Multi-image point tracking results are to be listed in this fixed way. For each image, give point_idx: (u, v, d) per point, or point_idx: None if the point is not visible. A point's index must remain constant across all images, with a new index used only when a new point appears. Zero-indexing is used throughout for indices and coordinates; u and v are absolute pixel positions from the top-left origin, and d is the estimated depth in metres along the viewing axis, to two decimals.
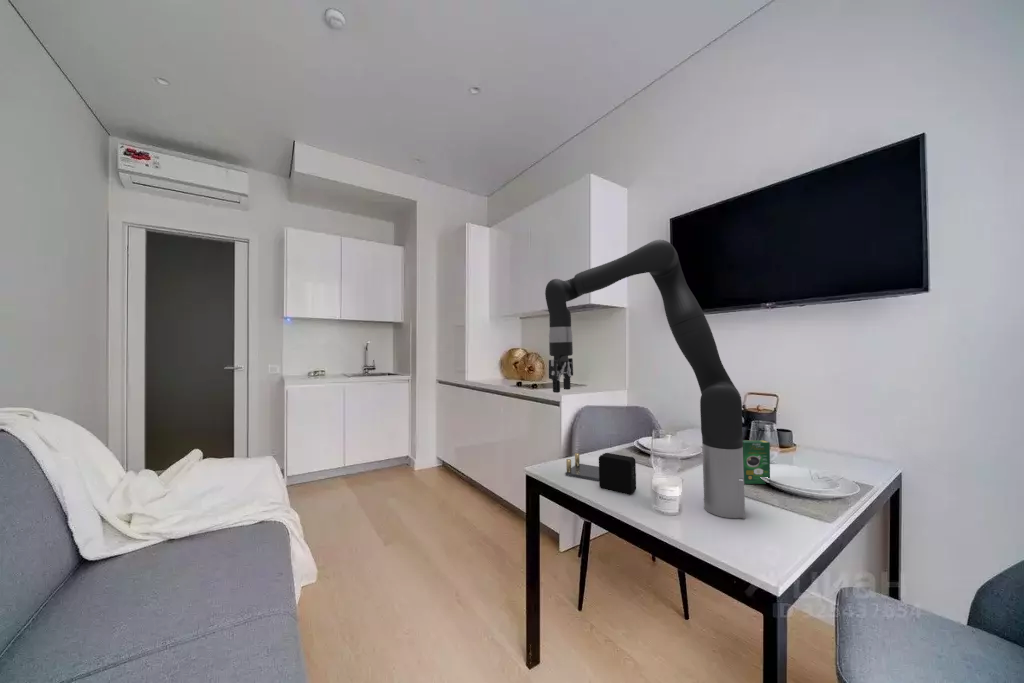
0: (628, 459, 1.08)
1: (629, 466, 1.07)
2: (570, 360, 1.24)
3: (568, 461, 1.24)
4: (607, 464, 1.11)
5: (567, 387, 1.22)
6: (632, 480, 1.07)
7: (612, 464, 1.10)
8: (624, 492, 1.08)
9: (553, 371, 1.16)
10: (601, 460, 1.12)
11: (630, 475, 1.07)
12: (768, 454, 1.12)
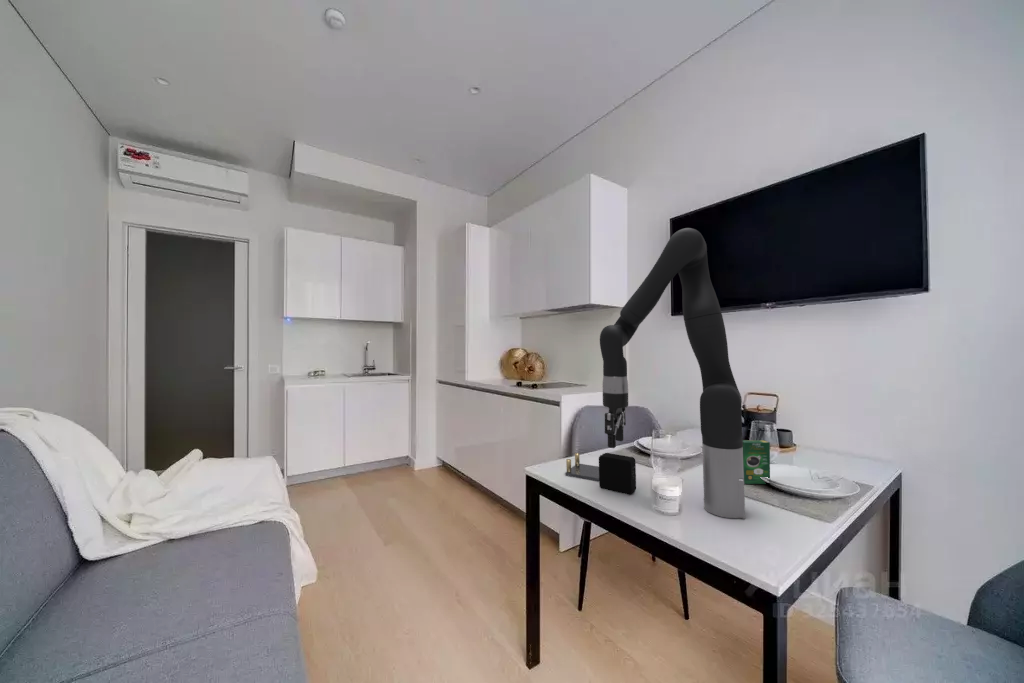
0: (628, 459, 1.08)
1: (629, 466, 1.07)
2: (623, 409, 1.16)
3: (568, 461, 1.24)
4: (607, 464, 1.11)
5: (620, 438, 1.14)
6: (632, 480, 1.07)
7: (612, 464, 1.10)
8: (624, 492, 1.08)
9: None
10: (601, 460, 1.12)
11: (630, 475, 1.07)
12: (768, 454, 1.12)
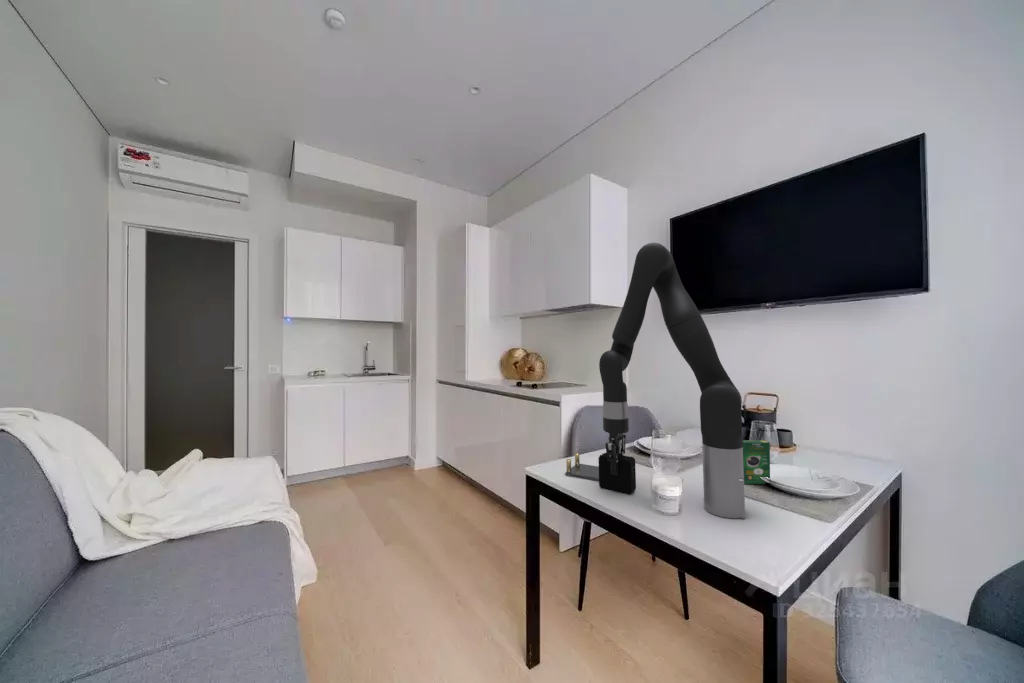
0: (628, 459, 1.08)
1: (629, 466, 1.07)
2: (623, 436, 1.15)
3: (568, 461, 1.24)
4: (607, 464, 1.11)
5: None
6: (632, 480, 1.07)
7: None
8: (624, 492, 1.08)
9: None
10: (601, 460, 1.12)
11: (630, 475, 1.07)
12: (768, 454, 1.12)
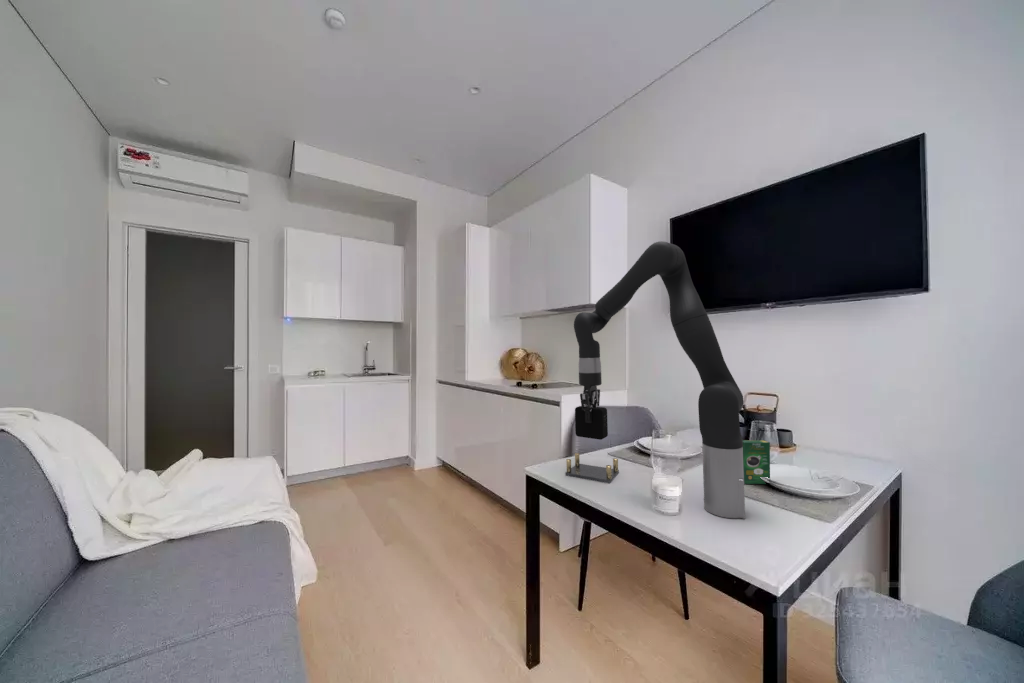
0: (600, 408, 1.22)
1: (601, 414, 1.20)
2: (598, 391, 1.29)
3: (568, 461, 1.24)
4: (582, 414, 1.24)
5: None
6: (603, 427, 1.21)
7: None
8: (596, 437, 1.21)
9: None
10: (577, 411, 1.25)
11: (602, 422, 1.20)
12: (768, 454, 1.12)
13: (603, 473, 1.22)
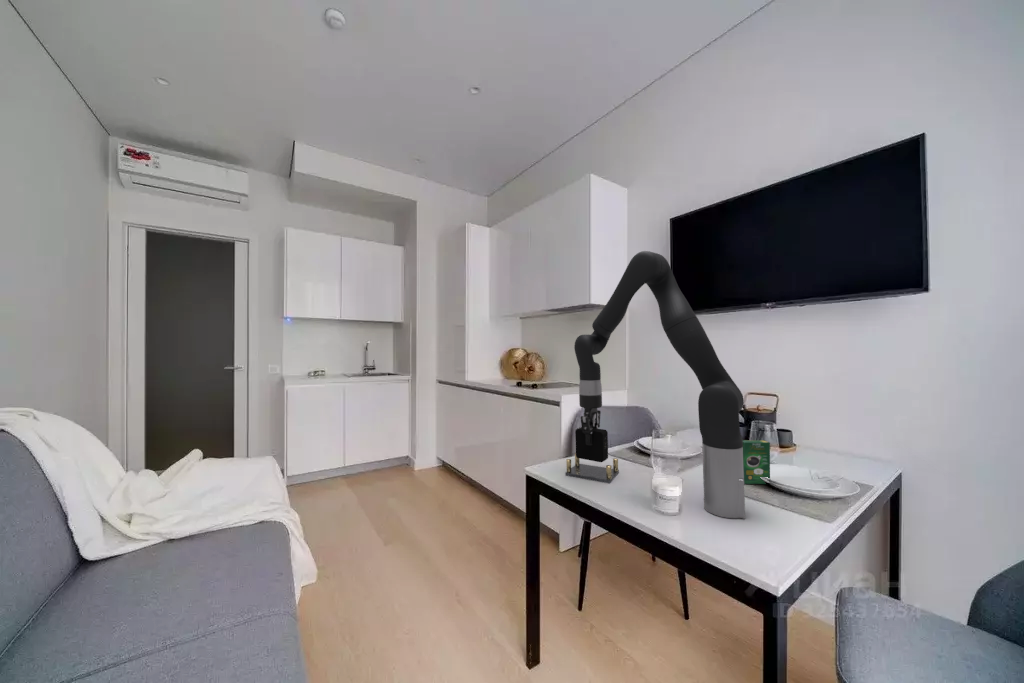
0: (601, 430, 1.22)
1: (601, 437, 1.20)
2: (598, 412, 1.29)
3: (568, 461, 1.24)
4: (582, 436, 1.24)
5: None
6: (604, 449, 1.21)
7: None
8: (597, 460, 1.21)
9: None
10: (577, 432, 1.25)
11: (602, 445, 1.20)
12: (768, 454, 1.12)
13: (603, 473, 1.22)
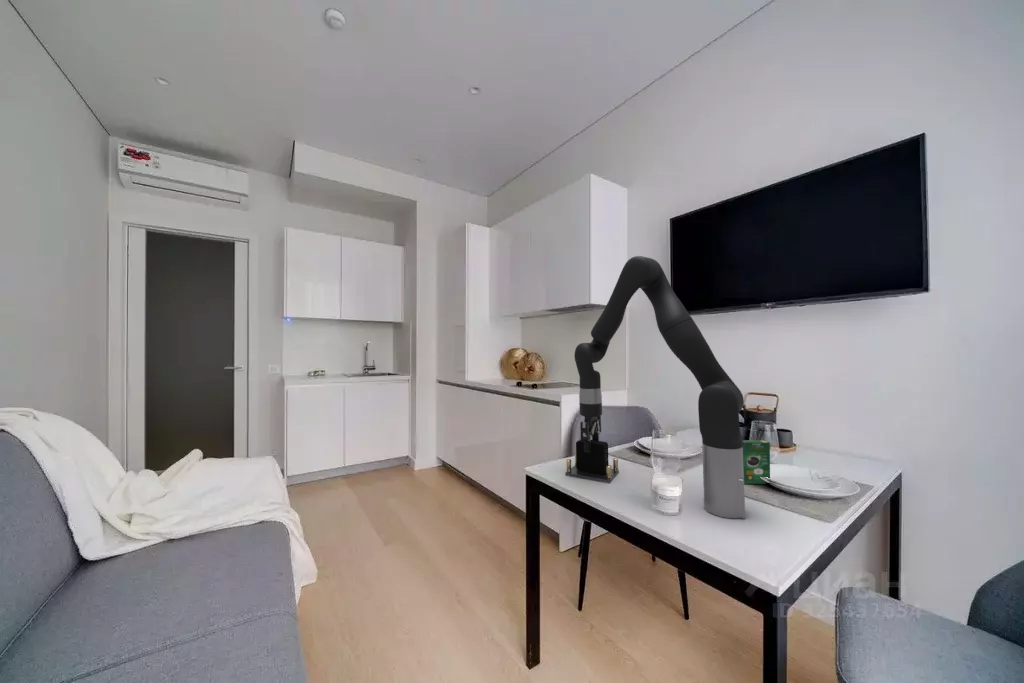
0: (601, 443, 1.22)
1: (602, 449, 1.20)
2: (598, 417, 1.29)
3: (568, 461, 1.24)
4: (583, 448, 1.24)
5: None
6: (605, 462, 1.21)
7: None
8: (598, 473, 1.21)
9: None
10: (578, 445, 1.25)
11: (603, 457, 1.20)
12: (768, 454, 1.12)
13: None
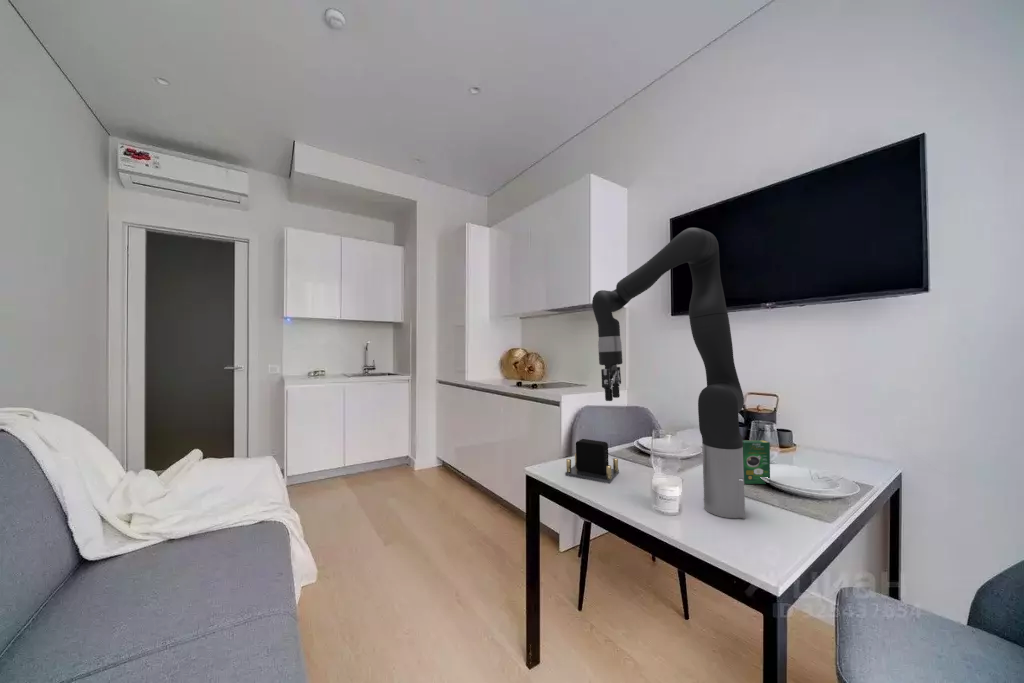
0: (601, 443, 1.22)
1: (602, 449, 1.20)
2: (618, 369, 1.26)
3: (568, 461, 1.24)
4: (583, 448, 1.24)
5: (616, 395, 1.24)
6: (605, 462, 1.21)
7: (587, 448, 1.23)
8: (598, 473, 1.21)
9: (605, 380, 1.19)
10: (578, 445, 1.25)
11: (603, 457, 1.20)
12: (768, 454, 1.12)
13: None
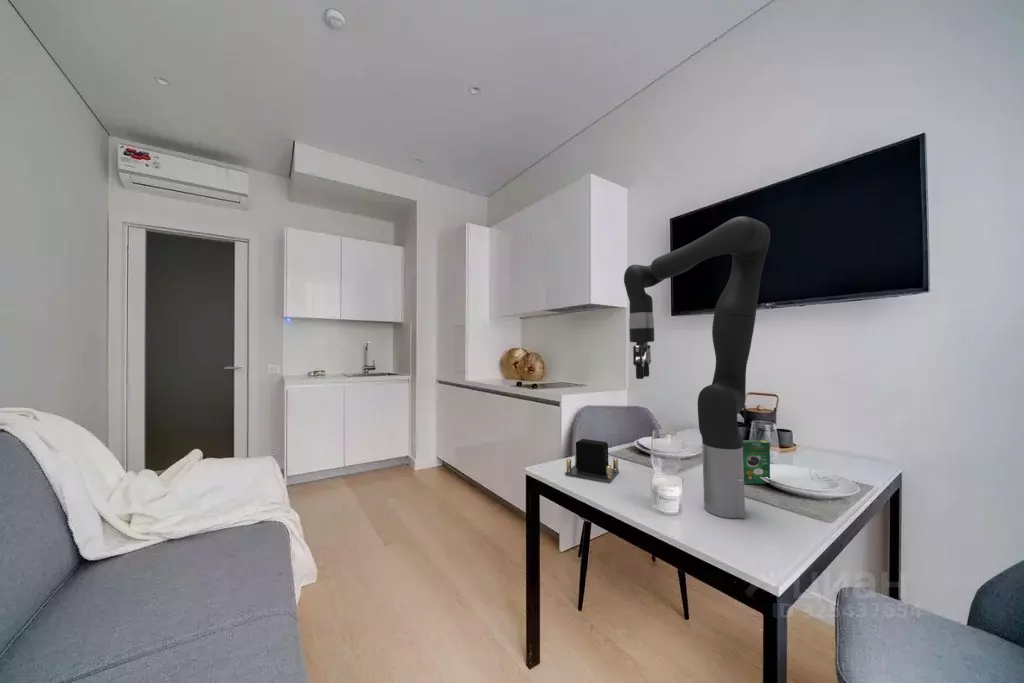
0: (601, 443, 1.22)
1: (602, 449, 1.20)
2: (648, 347, 1.22)
3: (568, 461, 1.24)
4: (583, 448, 1.24)
5: (646, 374, 1.21)
6: (605, 462, 1.21)
7: (587, 448, 1.23)
8: (598, 473, 1.21)
9: (636, 357, 1.15)
10: (578, 445, 1.25)
11: (603, 457, 1.20)
12: (768, 454, 1.12)
13: None
